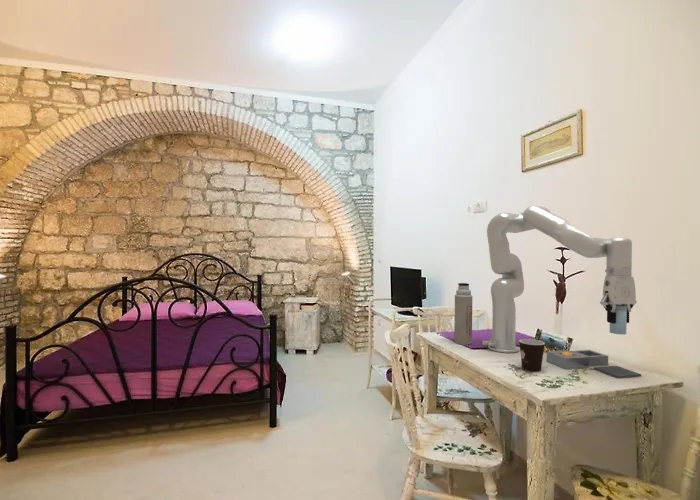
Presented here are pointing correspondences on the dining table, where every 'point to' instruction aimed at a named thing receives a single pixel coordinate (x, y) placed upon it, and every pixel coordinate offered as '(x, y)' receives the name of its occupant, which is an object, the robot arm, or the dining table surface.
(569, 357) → the block
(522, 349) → the coffee mug
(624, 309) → the cylinder
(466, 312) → the thermos bottle
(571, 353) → the plunger button
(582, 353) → the gray square tray
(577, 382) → the dining table surface
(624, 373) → the rubber mat
